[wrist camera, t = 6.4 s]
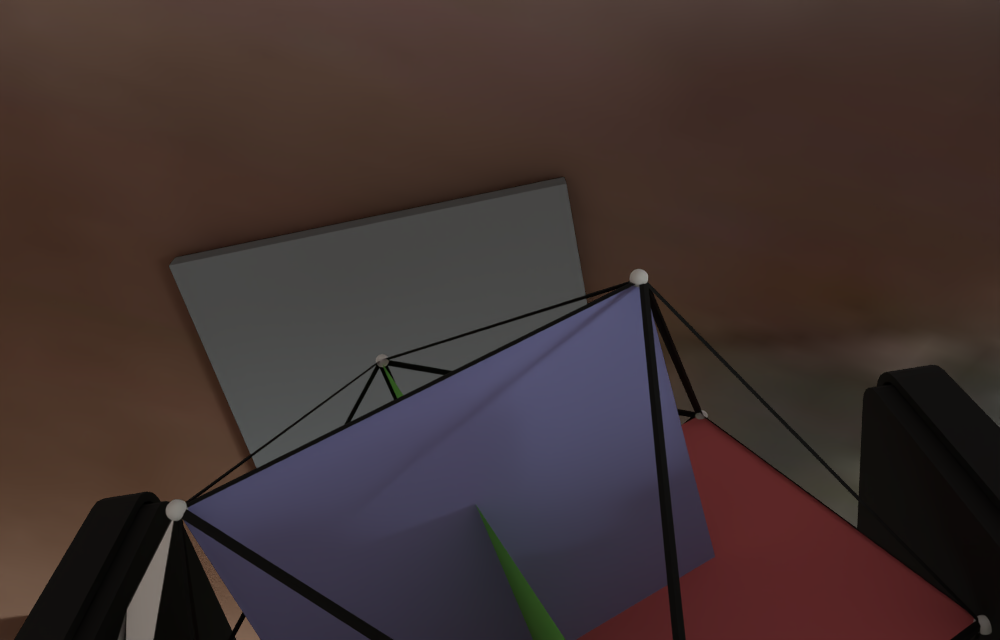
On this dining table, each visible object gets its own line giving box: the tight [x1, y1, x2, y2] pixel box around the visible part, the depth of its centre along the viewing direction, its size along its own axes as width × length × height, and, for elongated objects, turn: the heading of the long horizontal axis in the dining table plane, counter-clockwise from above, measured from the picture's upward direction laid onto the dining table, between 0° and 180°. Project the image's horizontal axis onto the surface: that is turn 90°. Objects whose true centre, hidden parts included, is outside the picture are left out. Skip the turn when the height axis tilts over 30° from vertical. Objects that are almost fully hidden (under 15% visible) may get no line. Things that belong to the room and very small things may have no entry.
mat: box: [169, 177, 587, 468], centre depth 28 cm, size 12×13×1 cm
